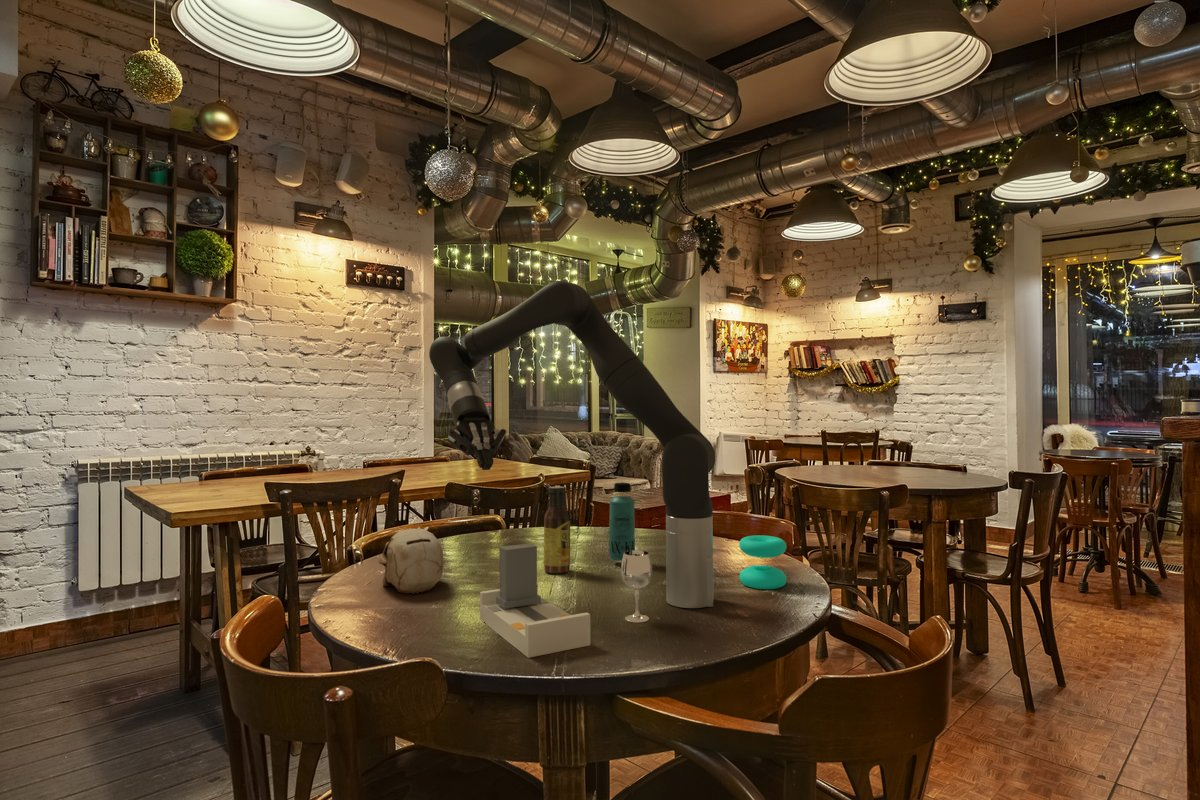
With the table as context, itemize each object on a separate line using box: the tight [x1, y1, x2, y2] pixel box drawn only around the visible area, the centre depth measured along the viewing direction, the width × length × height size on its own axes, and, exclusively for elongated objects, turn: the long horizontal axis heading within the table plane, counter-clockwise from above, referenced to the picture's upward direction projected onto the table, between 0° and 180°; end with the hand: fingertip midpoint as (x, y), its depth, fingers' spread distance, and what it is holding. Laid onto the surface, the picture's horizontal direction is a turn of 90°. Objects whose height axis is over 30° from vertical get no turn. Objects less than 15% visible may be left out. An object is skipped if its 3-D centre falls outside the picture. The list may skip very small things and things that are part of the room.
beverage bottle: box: [608, 482, 636, 562], centre depth 167 cm, size 6×7×20 cm
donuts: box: [738, 534, 788, 590], centre depth 148 cm, size 10×10×10 cm
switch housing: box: [479, 584, 591, 659], centre depth 118 cm, size 22×11×5 cm, turn 30°
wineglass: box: [620, 549, 653, 623], centre depth 124 cm, size 6×6×12 cm
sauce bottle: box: [543, 486, 571, 575], centre depth 160 cm, size 6×6×20 cm
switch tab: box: [496, 543, 542, 609], centre depth 123 cm, size 4×7×10 cm, turn 120°
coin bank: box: [378, 528, 444, 595], centre depth 147 cm, size 16×17×13 cm
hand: (487, 467), depth 137 cm, fingers closed
